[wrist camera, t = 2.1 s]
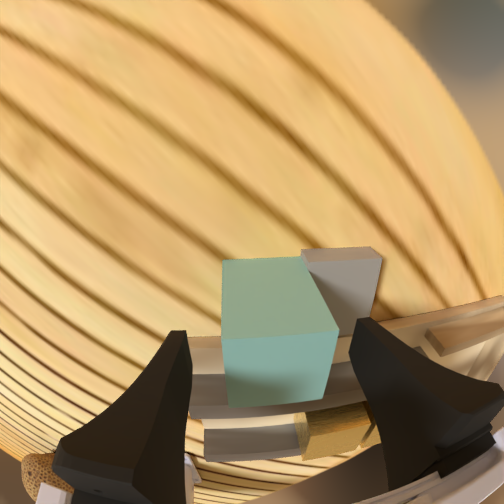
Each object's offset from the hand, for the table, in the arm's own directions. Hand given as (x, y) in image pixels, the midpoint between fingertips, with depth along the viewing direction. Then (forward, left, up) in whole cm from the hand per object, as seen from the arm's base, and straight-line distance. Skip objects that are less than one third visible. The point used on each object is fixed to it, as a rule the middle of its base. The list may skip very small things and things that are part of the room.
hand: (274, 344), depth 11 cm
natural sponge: (-28, +29, -5) cm, 41 cm away
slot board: (-10, -9, -4) cm, 14 cm away
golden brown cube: (-10, -4, -3) cm, 11 cm away
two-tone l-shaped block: (0, -2, -4) cm, 5 cm away
